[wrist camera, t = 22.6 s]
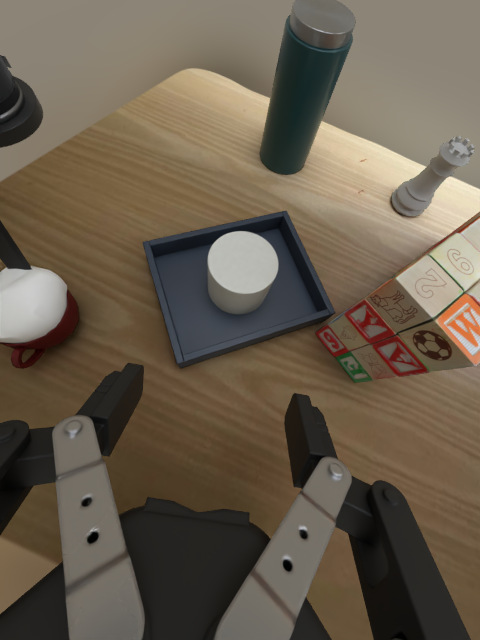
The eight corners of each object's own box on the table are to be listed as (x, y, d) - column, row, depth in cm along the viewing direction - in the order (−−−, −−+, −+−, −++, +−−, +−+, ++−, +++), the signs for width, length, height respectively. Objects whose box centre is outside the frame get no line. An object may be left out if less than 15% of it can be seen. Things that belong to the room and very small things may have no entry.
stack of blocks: (439, 240, 32) (569, 145, 20) (478, 278, 31) (640, 201, 19) (313, 333, 26) (396, 275, 15) (354, 385, 25) (480, 366, 13)
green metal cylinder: (269, 178, 32) (307, 37, 20) (253, 143, 34) (278, -7, 22) (312, 170, 33) (371, 33, 21) (294, 137, 35) (339, -9, 23)
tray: (180, 368, 24) (176, 364, 21) (148, 256, 27) (142, 241, 25) (324, 320, 27) (335, 312, 24) (280, 225, 30) (286, 210, 28)
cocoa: (56, 379, 22) (-100, 349, 11) (-11, 352, 22) (-236, 295, 11) (113, 286, 25) (37, 190, 14) (54, 263, 26) (-69, 149, 14)
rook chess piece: (388, 187, 34) (439, 124, 26) (420, 194, 34) (480, 134, 27) (389, 214, 33) (444, 156, 25) (423, 221, 33) (487, 166, 25)
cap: (218, 322, 25) (220, 302, 20) (200, 269, 27) (198, 239, 22) (275, 305, 26) (289, 282, 22) (254, 255, 28) (263, 224, 23)
